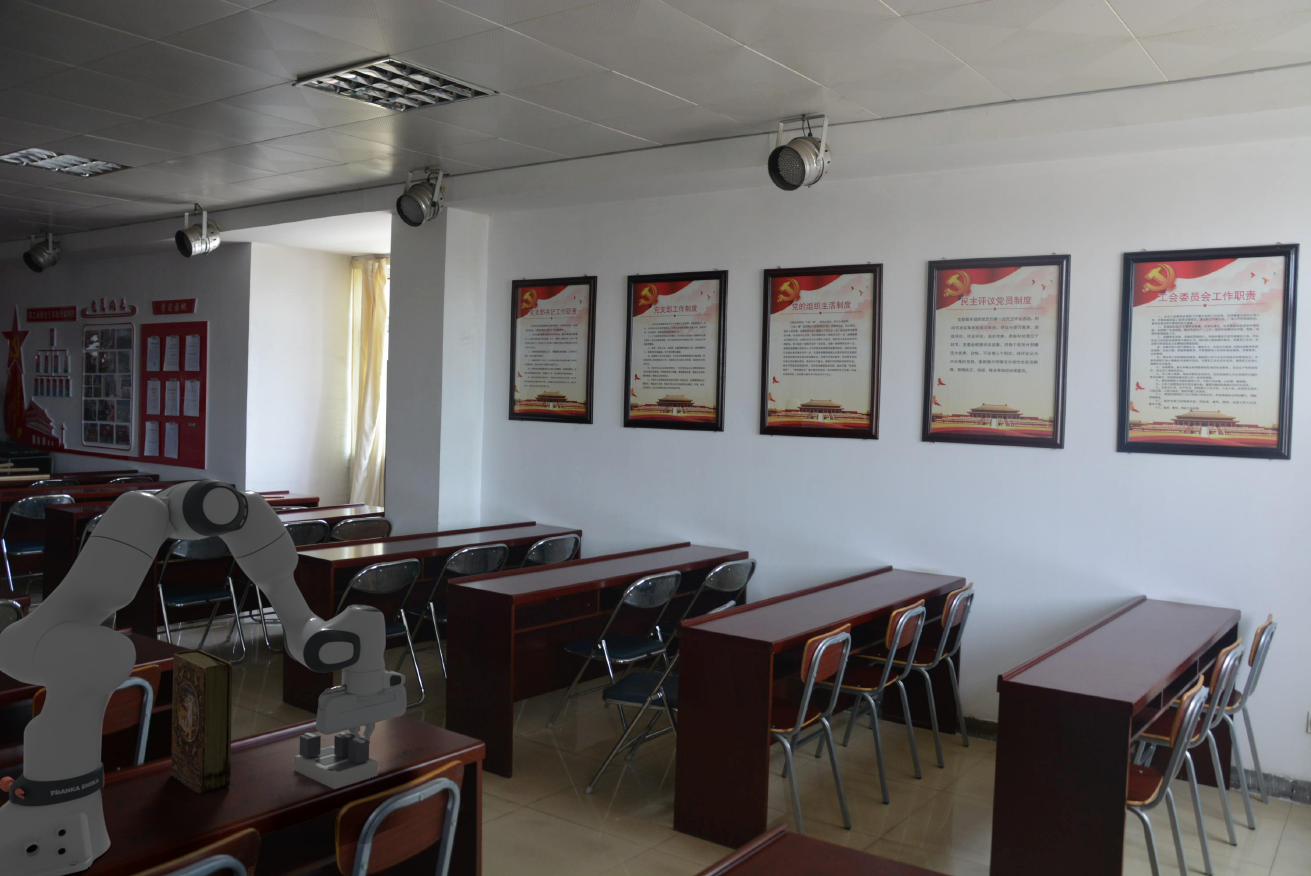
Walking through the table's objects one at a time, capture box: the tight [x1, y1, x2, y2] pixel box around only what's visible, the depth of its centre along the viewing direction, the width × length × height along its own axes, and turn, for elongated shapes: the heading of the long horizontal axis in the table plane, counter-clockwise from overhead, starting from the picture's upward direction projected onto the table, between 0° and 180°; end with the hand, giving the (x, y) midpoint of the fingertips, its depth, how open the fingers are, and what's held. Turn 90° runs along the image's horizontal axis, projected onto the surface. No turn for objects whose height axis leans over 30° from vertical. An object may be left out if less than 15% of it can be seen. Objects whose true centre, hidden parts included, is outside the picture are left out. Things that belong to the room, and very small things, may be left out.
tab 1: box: [298, 732, 322, 758], centre depth 199 cm, size 3×3×4 cm
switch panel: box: [293, 744, 379, 790], centre depth 198 cm, size 10×15×3 cm, turn 51°
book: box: [170, 649, 233, 795], centre depth 192 cm, size 16×6×25 cm, turn 48°
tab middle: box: [333, 731, 355, 758], centre depth 200 cm, size 3×3×4 cm
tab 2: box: [348, 738, 370, 764], centre depth 197 cm, size 3×3×4 cm
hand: (361, 745), depth 203 cm, fingers closed
